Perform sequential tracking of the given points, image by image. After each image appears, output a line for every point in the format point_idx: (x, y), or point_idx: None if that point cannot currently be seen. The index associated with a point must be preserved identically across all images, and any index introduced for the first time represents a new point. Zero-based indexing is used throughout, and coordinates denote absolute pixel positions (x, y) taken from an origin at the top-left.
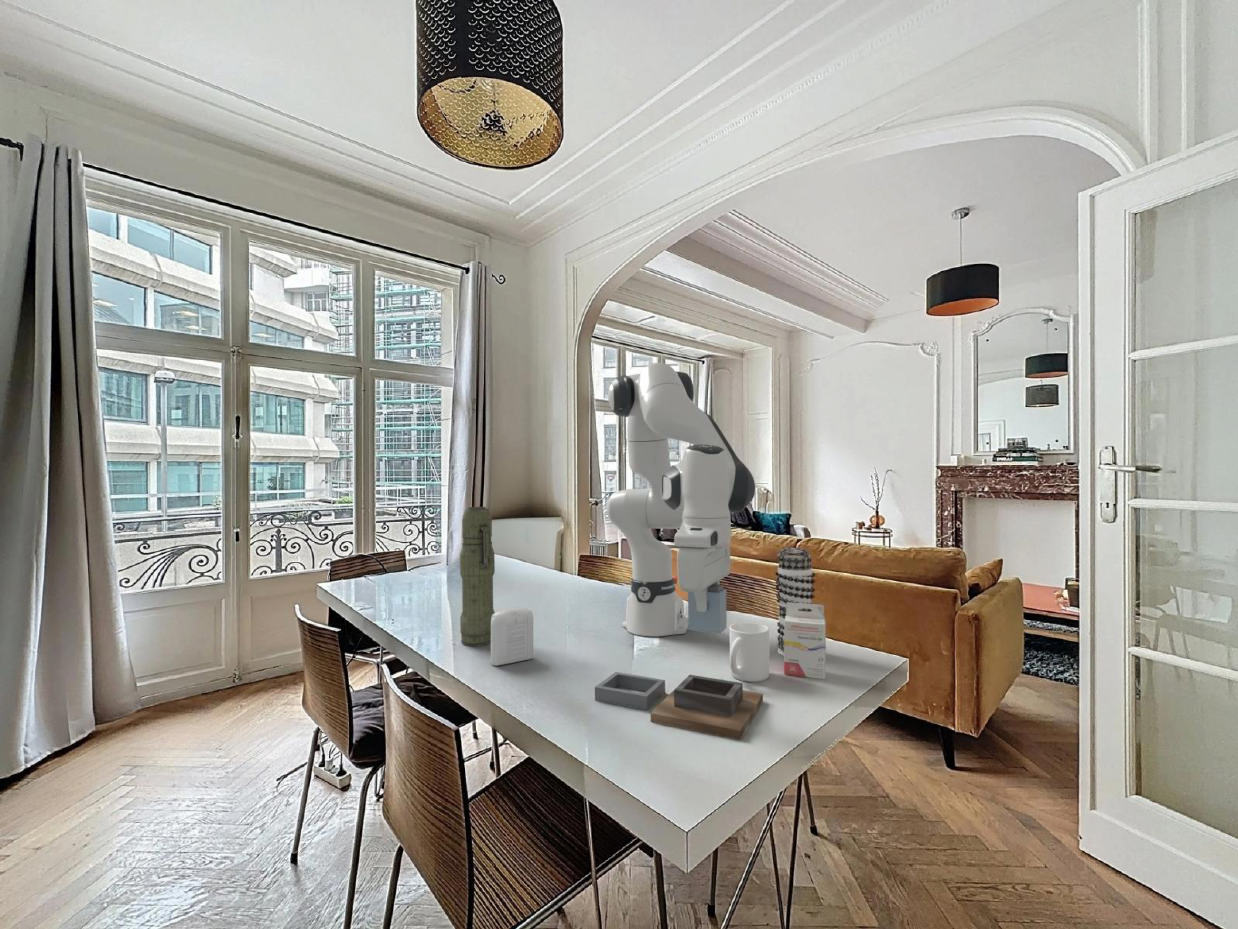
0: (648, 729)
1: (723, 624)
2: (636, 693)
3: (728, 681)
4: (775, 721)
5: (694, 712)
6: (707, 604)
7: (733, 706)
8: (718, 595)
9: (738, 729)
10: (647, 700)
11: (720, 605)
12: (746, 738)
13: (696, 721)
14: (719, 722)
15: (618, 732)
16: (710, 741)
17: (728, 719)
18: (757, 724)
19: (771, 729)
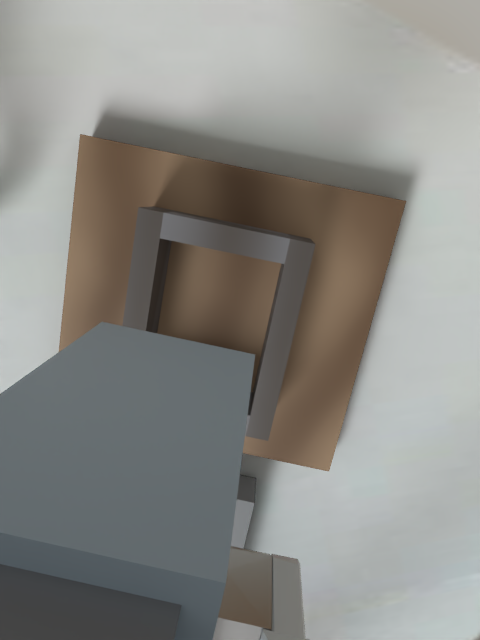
0: (373, 455)
1: (166, 352)
2: (238, 533)
3: (136, 263)
4: (241, 89)
5: (298, 352)
6: (254, 594)
7: (272, 232)
8: (222, 572)
9: (398, 206)
10: (249, 493)
11: (221, 459)
12: (382, 182)
13: (363, 339)
14: (358, 270)
15: (404, 521)
16: (419, 286)
17: (330, 243)
18: (277, 151)
19: (304, 103)
